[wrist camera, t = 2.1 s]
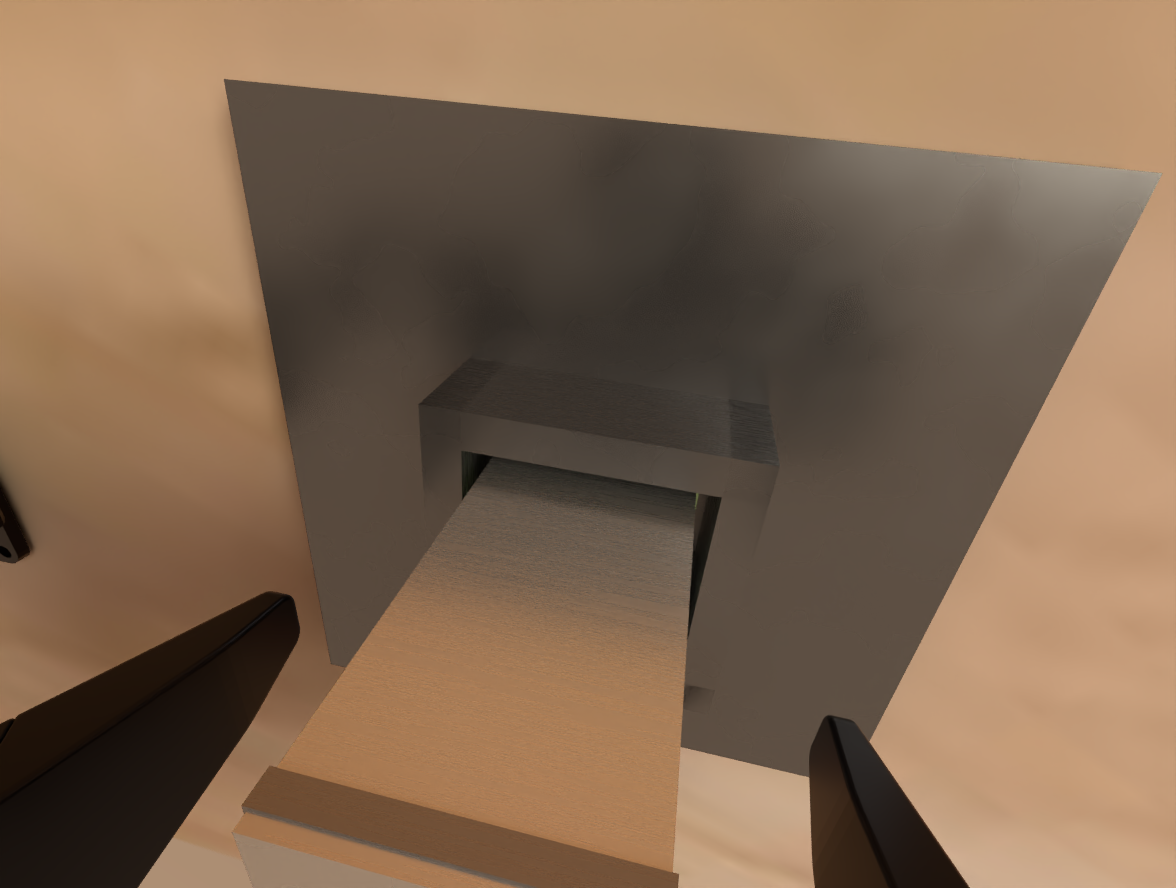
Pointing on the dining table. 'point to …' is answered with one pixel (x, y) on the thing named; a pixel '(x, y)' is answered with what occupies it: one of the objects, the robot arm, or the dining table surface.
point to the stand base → (671, 360)
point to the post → (502, 705)
